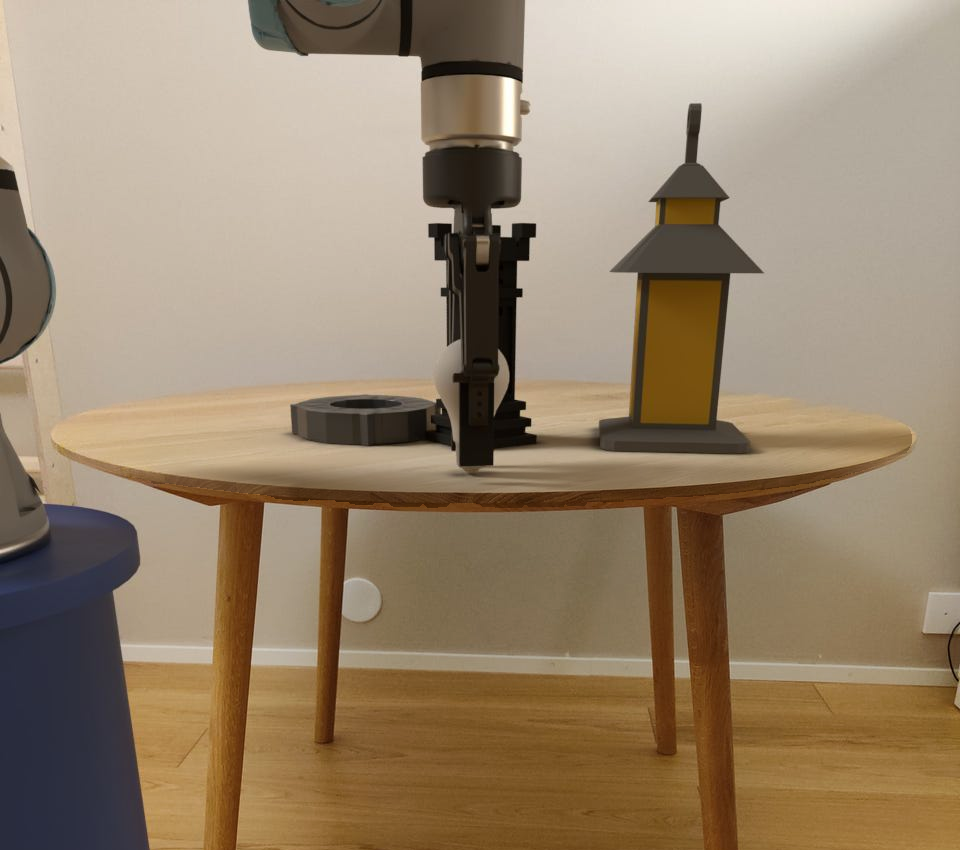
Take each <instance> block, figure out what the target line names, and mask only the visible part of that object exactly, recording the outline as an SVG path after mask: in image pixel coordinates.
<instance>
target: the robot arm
mask: <svg viewBox="0 0 960 850" xmlns="http://www.w3.org/2000/svg"><path fill="white" fill-rule="evenodd" d="M247 5H248V15H249V20H250V28H251V32H252V36H253V39H254V41H255V42H256V43H257V45H258V46H259V47H261V48H262V49H264V50H267V51H274V52H281V53H282V52H283V53H284V52H285V53H293V54H297V55H298V56H300V57H309V55H352V56H353V55H354V56H355V55H357V56H358V55H359V56H398V57H404V58H407V57H418V58H420V65H421V67H420V68H421V74H420V75H421V76H420V77H421V81H420V139H421V141H422V142H423V143H424V145H426V146H428V147H429V150H428V151H426V152H425V153H424V156H422V160H421V161H422V200H423V202H424V204H425V205H426V206H428V207H430V208H438V209H439V208H440V209H453V210H454V212H453V214H454V215H453V228H452V233H448V234H445V253H446V257H447V258H448V262H447V284H448V288H449V345H450V344H452V343H453V342H455V341H457V340H459V339H461V364H462V371H461V372H460V373H454V374H453V376H452V380H453V383H459V465H460V466H485V467H494V459H495V458H494V455H495V453H494V450H495V448H494V379H495V378H496V376H498V374H499V369H500V367H499V365H498V269H499V253H500V250H501V240H500V234H499V233H492V225H493V213H492V209H493V210H494V209H495V210H496V209H498V210H499V209H511V208H516V207H517V206H518V205H519V204H520V203H521V200H522V178H523V177H522V176H523V175H522V174H523V158H522V156H520V153H519V152H517V151H514V147H517V146H518V145H519V144H520V143H521V142H522V140H523V139H522V137H523V136H522V135H523V118H522V116H527V115H528V114H530V113H531V103H530V101H529V100H524V99H521V95H522V93H523V83H524V52H525V49H524V48H525V17H526V16H525V15H526V0H247ZM16 176H17V175H16V172H15V170H14V167H13V165H12V164H10V163H9V162H8V161H7V160H6V159H4V158H3V157H2V156H0V365H3V364H5V363H7V362H10V361H11V360H13V359H15V358H17V357H19V356H20V355H22V354H23V353H24V352H25V351H27V350H28V349H29V348H30V347H31V346H32V345H34V344H35V342H36V341H38V340H39V339H40V337H41V336H42V335H43V334H44V332H45V331H46V329H47V328H48V325H49V323H50V322H51V319H52V317H53V314H54V310H55V306H56V301H57V282H56V275H55V271H54V268H53V265H52V261H51V259H50V257H49V255H48V253H47V251H46V250H45V247H44V246H43V244H42V243H41V242H40V239H39V238H38V236H37V235H36V234H35V233H34V232H33V231H32V229H30V228H29V227H28V223H27V219H26V214H25V210H24V206H23V202H22V198H21V193H20V189H19V185H18V181H17V177H16ZM450 450H451V452H456V443H455V442H454V441H453V433H452V426H451V446H450ZM39 494H42V492H41V490H40V489H39V487H38V485H37V483H36V481H35V479H34V478H33V477H32V476H31V475H30V474H29V473H28V472H27V471H26V468H25V467H24V465H23V463H22V461H21V460H20V457H19V456H18V454H17V452H16V450H15V448H14V446H13V445H12V442H11V440H10V439H9V437H8V434H7V433H6V430H5V427H4V425H3V419H2V414H1V413H0V565H3V564H6V563H10V562H13V561H16V560H18V559H21V558H24V557H26V556H29V555H31V554H33V553H35V552H37V551H38V550H40V549H42V548H43V547H44V546H46V545H47V544H48V543H49V541H50V539H51V533H50V526H49V520H48V517H47V516H46V510H45V507H44V505H43V504H44V503H43V501H42V499H41V497H40V495H39Z"/></svg>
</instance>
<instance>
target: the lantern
mask: <svg viewBox="0 0 960 850" xmlns="http://www.w3.org/2000/svg"><path fill="white" fill-rule="evenodd" d="M702 107H703V106H702V102H700V103H698V102H697V103H696V102H695V103H692V102H691V103H689V104H688V109H687V118H686V131H685V132H686V134H685V135H686V138H685V139H686V141H685V153H684V154H685V155H684V163H682V164H680V165H679V166H678V167H677V168H676V169H675V170H674V171H673V172H672V174H671V175H670V176H669V177H668V178H667V180H666V181H665V182H664V183H663V184H662V185H661V187H659V189H658V190H657V191H656V192H655V193H654V194H653V196H652V197H651V198H650V199H649V200H648V201H647V202H648V203H656V204H655V220H654V227H653V228H652V229H651V230H649V232H647V234H646V235H644V237H642V238H641V239H640V241H638V242H637V244H636V245H635V246H634V247H633V248H631V250H630V251H629V252H627V253H626V255H624V257H622V258H621V259H620V260H619V261H618V262H617V263H616V264H615V265H614V266H613V267H612V268H611V269H610V270H609V273H617V274H618V273H619V274H620V273H621V274H623V273H625V274H626V273H627V274H628V273H629V274H631V273H632V274H634V273H637V275H636V276H637V277H636V278H637V279H636V293H635V309H634V327H633V343H632V357H631V358H632V361H631V376H630V390H629V391H630V392H629V405H628V408H629V409H628V416H621V417H611V418H601V419H599V420H598V437H599V446H600V449H602V450H604V451H612V452H642V453H643V452H647V453H648V452H650V453H686V454H687V453H689V454H690V453H691V454H692V453H693V454H729V455H730V454H732V455H733V454H734V455H739V454H748V452H750V443H751V441H750V440H749V439H748V438H747V437H746V436H745V435H744V434H743V433H742V432H741V430H739V428H738V427H737V426H736V425H735V424H734V423H732V422H729V421H726V420H719V419H718V409H719V398H720V387H721V379H722V378H721V377H722V369H723V368H722V366H723V357H724V344H725V335H726V326H727V325H726V324H727V314H728V313H727V312H728V304H729V293H730V283H731V274H765V272H764V271H763V270H762V269H761V268H760V266H758V264H757V263H756V262H755V261H754V260H753V259H752V258H751V257H750V256H749V255H748V254H747V252H745V251H744V250H743V249H742V247H740V245H739V244H738V243H737V242H736V241H735V240H734V239H733V238H732V237H731V236H730V235H729V234H728V232H726V231H725V230H724V229H723V228H722V226H720V224H719V221H720V212H721V203H722V202H724V201H726V200H728V199H730V196H729V195H728V193H727V192H726V191H725V190H724V189H723V187H721V185H720V184H719V183H718V182H717V180H716V179H715V178H714V177H713V176H712V174H711V173H710V172H709V171H708V170H707V168H705V165H702V164H700V163H699V162H698V150H699V136H700V132H701V125H702V124H701V122H702V111H703V109H702Z"/></svg>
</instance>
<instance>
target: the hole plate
mask: <svg viewBox="0 0 960 850" xmlns="http://www.w3.org/2000/svg"><path fill="white" fill-rule="evenodd" d="M289 406H290V421H291V434H292V435H297V436H299V437H300V438H302V439H305V440H308V441H310V442H311V441H312V442H318V443H324V444H336V445H337V444H338V445H351V446H353V445H355V446H356V445H360V446H373V445H389V444H399V443H410V442H414V441H420V440H424V439H425V440H426V431H430V430H436V424H432V423H431V415H437V414H442V408H438V407H436V401H433V400H430V399H425V398H422V397H413V396H405V395H386V394H368V393H367V394H353V395H352V394H350V395H336V396H335V395H334V396H325V397H324V396H323V397H317V398H310V399H306V400H303V401H300V402H298V403H291V404H290V405H289Z"/></svg>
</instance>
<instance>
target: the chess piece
mask: <svg viewBox="0 0 960 850" xmlns="http://www.w3.org/2000/svg"><path fill="white" fill-rule="evenodd" d="M427 231H428V234H427V235H428V236H427V237H428V238H429V239H430V238H433V241H434V243H433V246H434V249H433V251H434V253H433V254H434V258H433V259H434V261H435V262H436V261H437V262H438V261H439V262H441V261H445V276H446V277H445V279H446V280H445V283H446V285H445V287H440V297H443V298H446V303H445V304H446V347H448V346H449V288H448V284H447V262H448V258H447V257H446V253H445V234H448V233H453V223H445V222H433V223H431V222H430V223H427ZM492 233H499V234H500V240H501V250H500V253H499V269H498V349H499V350H500V352H501V353H502V354H503V356H504V358H505V359H506V362H507V365H508V369H509V383H508V388H507V390H506V393H505V395H504V397H503V399H502V401H501V403H500V405H499V407H498V408H497V410H496V413H495V416H494V449H498V448H499V449H500V448H505V447H507V448H508V447H515V446H524V445H525V446H526V445H532V444H537V443H538V442H537V440H538V439H537V437H538V436H537V435H538V434H534V433H530V432H527V431H526V428H531V427H532V417H527V416H523V415H521V411H526V410H527V401H526V400H525V401H524V400H520V399H516V357H517V355H516V353H517V352H516V350H517V302H518V301H517V300H518V299H517V298H523V297H524V296H523V294H524V289H523V288H521V287H518V262H529V261H530V249H531V247H530V246H531V239H535V238H537V222H536V223H535V222H513V223H511V236H502V225H501V224H492ZM435 402H436V407H438V408H441V414H437V415H431V423H432V424H436V430H430V431H426V438H425V440H428V441H431V442H435V443H439V444H442V445H446V446H449V447H451V420H450V417H449V414H448V412H447V409H446V407H445V406H444V404H443V402H442V400H441V398H436V399H435Z"/></svg>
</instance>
